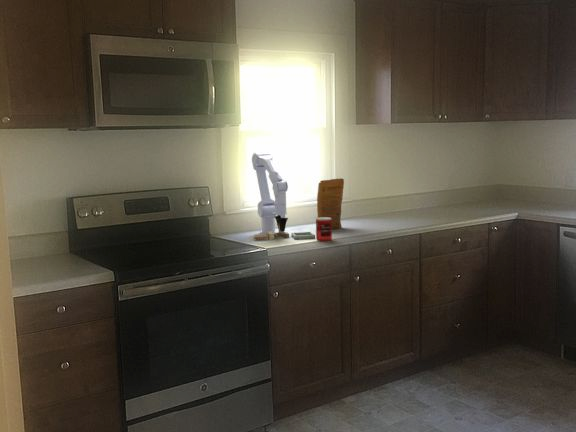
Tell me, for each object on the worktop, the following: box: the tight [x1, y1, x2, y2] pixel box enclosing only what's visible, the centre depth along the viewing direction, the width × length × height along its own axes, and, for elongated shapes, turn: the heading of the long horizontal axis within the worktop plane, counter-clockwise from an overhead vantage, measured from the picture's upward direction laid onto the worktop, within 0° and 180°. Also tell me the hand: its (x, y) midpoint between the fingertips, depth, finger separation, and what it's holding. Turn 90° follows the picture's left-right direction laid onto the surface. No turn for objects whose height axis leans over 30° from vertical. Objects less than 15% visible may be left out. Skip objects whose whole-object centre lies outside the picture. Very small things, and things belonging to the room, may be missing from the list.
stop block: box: [267, 232, 275, 241], centre depth 333 cm, size 8×2×3 cm, turn 9°
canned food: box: [315, 217, 333, 242], centre depth 322 cm, size 8×8×11 cm
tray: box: [291, 231, 316, 240], centre depth 333 cm, size 12×10×2 cm
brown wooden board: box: [253, 233, 268, 242], centre depth 332 cm, size 9×6×2 cm, turn 7°
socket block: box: [274, 231, 290, 239], centre depth 337 cm, size 7×7×2 cm
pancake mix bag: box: [316, 178, 345, 230], centre depth 360 cm, size 7×19×28 cm, turn 121°
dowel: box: [277, 224, 285, 234], centre depth 336 cm, size 3×3×7 cm
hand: (281, 230), depth 336 cm, fingers open, 7 cm apart
